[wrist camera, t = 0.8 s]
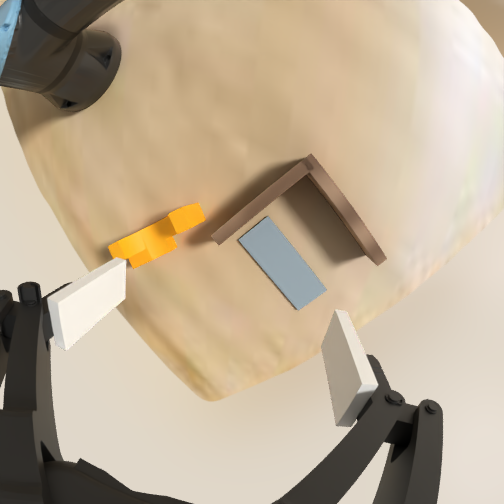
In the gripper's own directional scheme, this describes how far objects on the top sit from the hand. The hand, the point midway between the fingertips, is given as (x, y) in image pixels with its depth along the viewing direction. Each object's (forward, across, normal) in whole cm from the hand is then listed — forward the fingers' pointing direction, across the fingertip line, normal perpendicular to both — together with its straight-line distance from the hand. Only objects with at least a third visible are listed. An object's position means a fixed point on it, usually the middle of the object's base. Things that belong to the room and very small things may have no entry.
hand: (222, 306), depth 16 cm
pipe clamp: (+22, -12, -3) cm, 25 cm away
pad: (+21, +5, -3) cm, 22 cm away
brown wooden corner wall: (+21, +6, +1) cm, 22 cm away
